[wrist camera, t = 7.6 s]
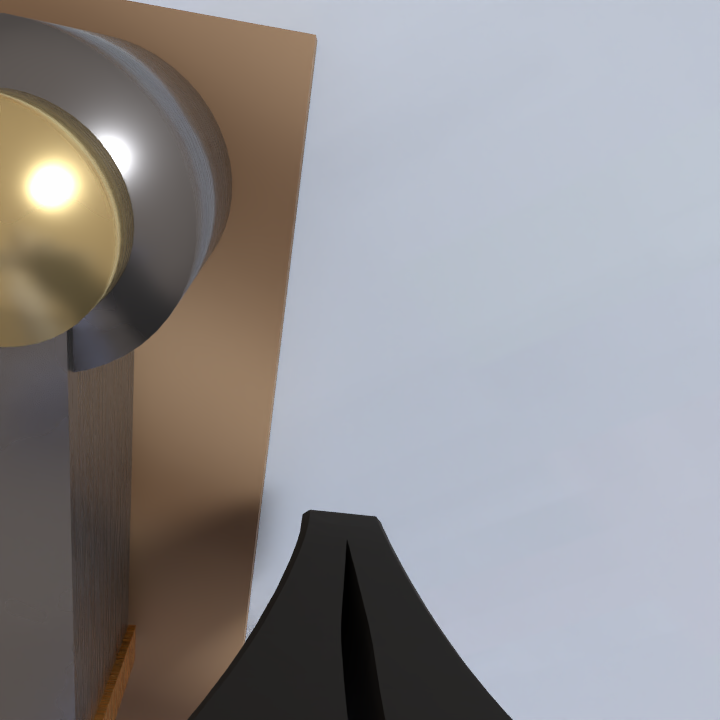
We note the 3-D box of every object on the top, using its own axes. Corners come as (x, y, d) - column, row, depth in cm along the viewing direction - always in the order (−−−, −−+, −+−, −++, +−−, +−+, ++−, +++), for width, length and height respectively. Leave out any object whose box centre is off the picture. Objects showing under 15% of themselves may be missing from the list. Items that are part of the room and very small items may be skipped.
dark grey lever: (-45, 7, 9) (-284, -40, 5) (242, 58, 9) (193, 44, 6) (5, 644, 14) (-106, 837, 10) (195, 658, 14) (151, 848, 11)
